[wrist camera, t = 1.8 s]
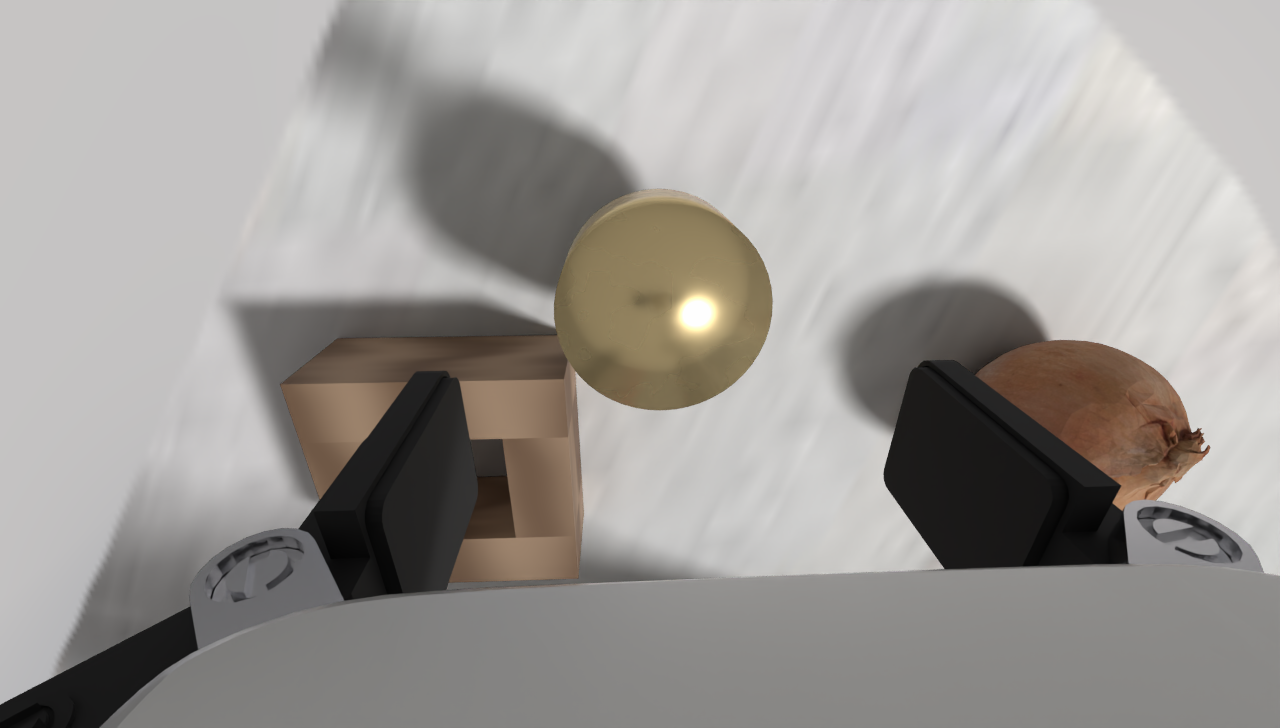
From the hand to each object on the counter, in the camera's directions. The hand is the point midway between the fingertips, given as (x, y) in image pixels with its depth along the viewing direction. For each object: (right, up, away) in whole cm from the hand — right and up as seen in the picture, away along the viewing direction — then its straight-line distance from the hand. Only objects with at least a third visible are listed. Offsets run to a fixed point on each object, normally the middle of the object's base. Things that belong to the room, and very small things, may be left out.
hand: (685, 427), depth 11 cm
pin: (0, +7, +14) cm, 16 cm away
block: (-10, -3, +18) cm, 21 cm away
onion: (+19, 0, +19) cm, 27 cm away
